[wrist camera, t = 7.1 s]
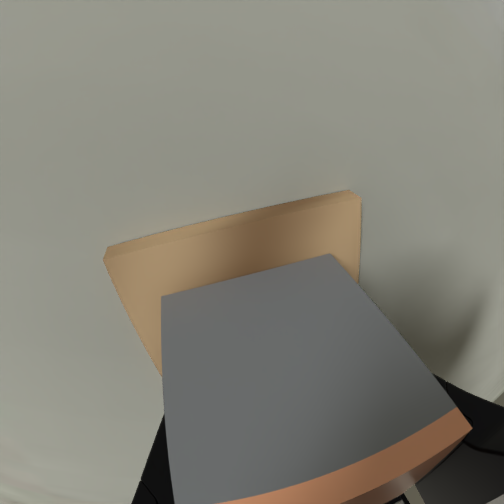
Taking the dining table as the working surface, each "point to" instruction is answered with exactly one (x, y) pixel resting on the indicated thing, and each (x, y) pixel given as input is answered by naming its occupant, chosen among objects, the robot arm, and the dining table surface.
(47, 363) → the dining table surface
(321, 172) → the dining table surface
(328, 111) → the dining table surface
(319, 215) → the tan piece
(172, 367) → the grey-topped salmon cube
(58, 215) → the dining table surface
